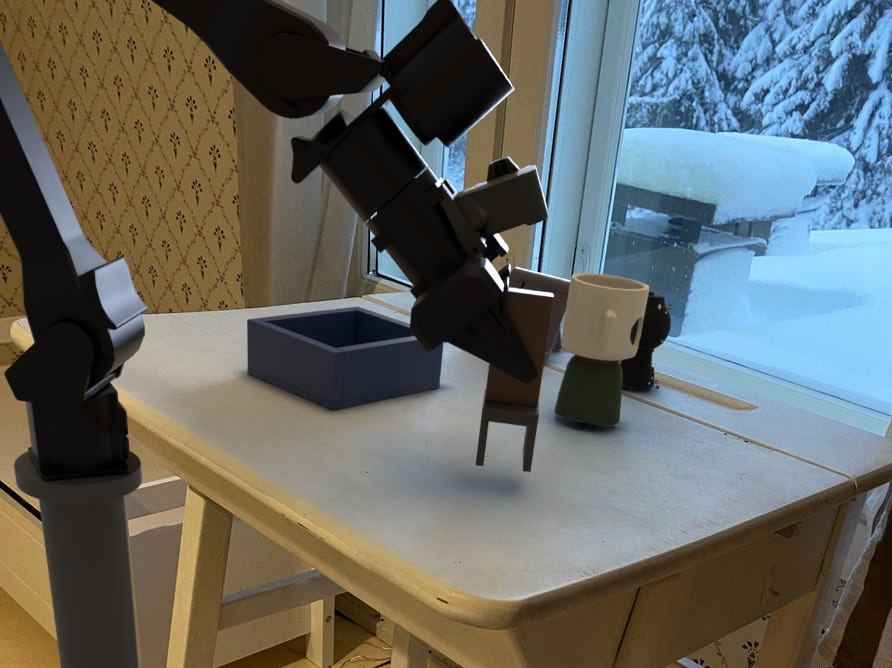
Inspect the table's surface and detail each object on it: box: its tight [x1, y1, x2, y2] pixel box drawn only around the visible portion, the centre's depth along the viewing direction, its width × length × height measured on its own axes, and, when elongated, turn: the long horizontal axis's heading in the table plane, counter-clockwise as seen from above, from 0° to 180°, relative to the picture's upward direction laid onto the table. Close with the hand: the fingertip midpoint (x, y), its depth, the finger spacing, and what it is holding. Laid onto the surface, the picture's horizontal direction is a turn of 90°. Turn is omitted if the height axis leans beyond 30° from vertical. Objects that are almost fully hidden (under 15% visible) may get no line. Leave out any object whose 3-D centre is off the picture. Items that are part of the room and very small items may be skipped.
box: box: [246, 306, 445, 411], centre depth 94 cm, size 14×12×5 cm
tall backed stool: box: [475, 287, 554, 473], centre depth 72 cm, size 4×5×12 cm
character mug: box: [554, 272, 650, 428], centre depth 89 cm, size 11×7×13 cm, turn 179°
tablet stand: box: [509, 266, 571, 363], centre depth 112 cm, size 9×8×8 cm
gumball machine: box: [620, 290, 673, 390], centre depth 103 cm, size 7×6×10 cm
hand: (533, 376), depth 72 cm, fingers closed on tall backed stool
